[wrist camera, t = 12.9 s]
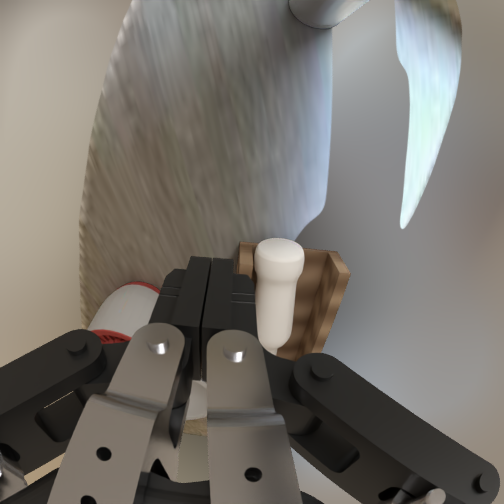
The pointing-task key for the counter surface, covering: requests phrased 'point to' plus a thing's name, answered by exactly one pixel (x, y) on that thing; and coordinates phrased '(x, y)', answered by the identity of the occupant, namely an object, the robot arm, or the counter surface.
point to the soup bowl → (197, 400)
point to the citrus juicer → (124, 312)
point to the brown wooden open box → (307, 298)
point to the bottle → (276, 289)
